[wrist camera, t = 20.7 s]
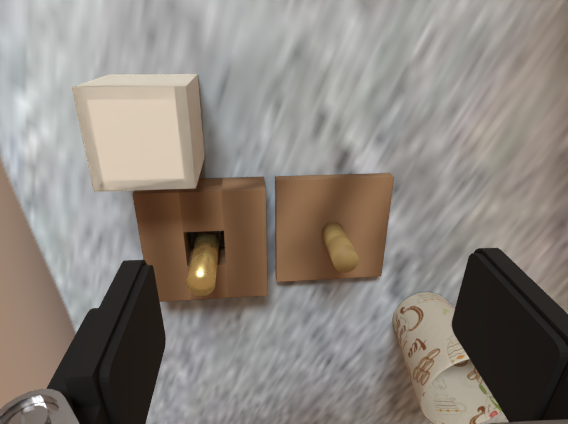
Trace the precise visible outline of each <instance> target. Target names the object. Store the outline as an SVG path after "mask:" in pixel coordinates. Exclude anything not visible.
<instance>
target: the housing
mask: <svg viewBox="0 0 568 424" xmlns="http://www.w3.org/2000/svg"><path fill="white" fill-rule="evenodd" d="M72 91H73V96H74V101H75V105H76V110H77V115H78V119H79V124H80V129H81V133H82V138H83V143H84V147H85V152H86V157H87V161H88V166H89V171H90V175H91V180H92V185H93V189H94V192H101V191H131V190H161V189H192V188H196V186H197V183H198V179H199V176H200V172H201V169H202V165H203V161H204V158H205V154H204V142H203V131H202V119H201V107H200V95H199V83H198V74H135V75H106V76H103V77H100V78H97V79H95V80H92V81H89V82H86V83H83V84H80V85H77V86H74V87H72Z"/></svg>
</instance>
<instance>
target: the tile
mask: <svg viewBox="0 0 568 424" xmlns="http://www.w3.org/2000/svg"><path fill="white" fill-rule="evenodd" d="M393 181H394V177H393V176H392V175H391V174H390V173H379V174H344V175H309V176H275V215H276V281H277V282H282V281H300V280H319V279H338V278H356V277H375V276H381V273H382V266H383V258H384V250H385V243H386V235H387V227H388V219H389V212H390V204H391V196H392V189H393Z"/></svg>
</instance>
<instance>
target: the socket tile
mask: <svg viewBox="0 0 568 424" xmlns="http://www.w3.org/2000/svg"><path fill="white" fill-rule="evenodd" d="M133 199H134V205H135V211H136V217H137V223H138V229H139V235H140V241H141V247H142V253H143V259H144V260H145V261H146V263H147V265H153V268H154V273H155V279H156V284H157V290H158V296H159V302H161V301H179V300H197V299H214V298H232V297H249V296H267V250H266V189H265V183H264V177H240V178H205V179H198V183H197V186H196V188H192V189H161V190H135V191H134V193H133ZM202 231H224V240H225V247H219V252H218V263H217V273H216V283H215V288H214V290H213V291H212V292H211V293H210V294H208V295H206V296H196V295H194V294H192V293H190V292H189V290H188V289H187V286H186V282H187V277H188V273H189V268H190V263H191V259H192V254H193V250H194V248H191V241H190V232H202Z"/></svg>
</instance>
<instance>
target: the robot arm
mask: <svg viewBox="0 0 568 424" xmlns="http://www.w3.org/2000/svg"><path fill="white" fill-rule="evenodd" d="M452 330H453V333H454V335H455V336H456V338H457V340H458V341H459V343H460V344H461V346H462V347H463V349H464V351H465V352H466V354H467V355H468V357H469V359H470V360H471V362H472V363H473V365H474V367H475V368H476V370H477V371H478V373H479V375H480V376H481V378H482V379H483V381H484V383H485V384H486V386H487V387H488V389H489V391H490V392H491V394H492V395H493V397H494V398H495V400H496V402H497V403H498V405H499V406H500V408H501V410H502V411H503V413H504V414H505V416H506V418H507V419H508V421H509V422H506V423H489V424H568V314H567V313H566V312H565V311H564V310H563V309H562V308H561V307H560V306H559V305H558V304H557V303H556V302H555V301H554V300H553V299H551V298H550V297H549V296H548V295H547V294H546V293H545V292H544V291H543V290H542V289H541V288H540V287H539V286H538V285H537V284H536V283H535V282H534V281H533V280H532V279H531V278H530V277H528V276H527V275H526V274H525V273H524V272H523V271H522V270H521V269H520V268H519V267H518V266H517V265H516V264H515V263H514V262H513V261H512V260H511V259H510V258H509V257H508V256H507V255H506V254H504V253H503V252H502V251H501V250H500V249H499V248H479V249H476V250H475V252H474V253H472V254H471V255H470V256H469V258H468V262H467V266H466V269H465V273H464V277H463V281H462V285H461V288H460V292H459V296H458V300H457V304H456V307H455V311H454V315H453V319H452ZM164 349H165V331H164V325H163V319H162V313H161V308H160V302H159V296H158V290H157V284H156V279H155V273H154V268H153V265H147V263H146V261H145V260H129V261H123V262H122V264H121V266H120V268H119V270H118V272H117V274H116V276H115V278H114V280H113V282H112V283H111V285H110V287H109V289H108V291H107V293H106V295H105V297H104V299H103V301H102V303H101V305H100V307H99V308H93V309H91V310H90V311H89V312H88V313H87V315H86V317H85V318H84V320H83V322H82V324H81V326H80V328H79V329H78V331H77V333H76V335H75V337H74V339H73V341H72V342H71V344H70V346H69V348H68V350H67V352H66V354H65V355H64V357H63V359H62V361H61V363H60V365H59V367H58V368H57V370H56V372H55V374H54V376H53V378H52V379H51V381H50V383H49V385H48V387H47V388H46V389H38V390H34V391H29V392H27V393H25V394H23V395H20V396H18V397H16V398H15V399H13V400H11V401H10V402H8V403H7V404H5V405H4V406H3V407H2V408H1V409H0V424H145V423H146V419H147V415H148V411H149V407H150V403H151V399H152V396H153V392H154V388H155V384H156V380H157V376H158V372H159V368H160V364H161V361H162V357H163V353H164Z"/></svg>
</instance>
